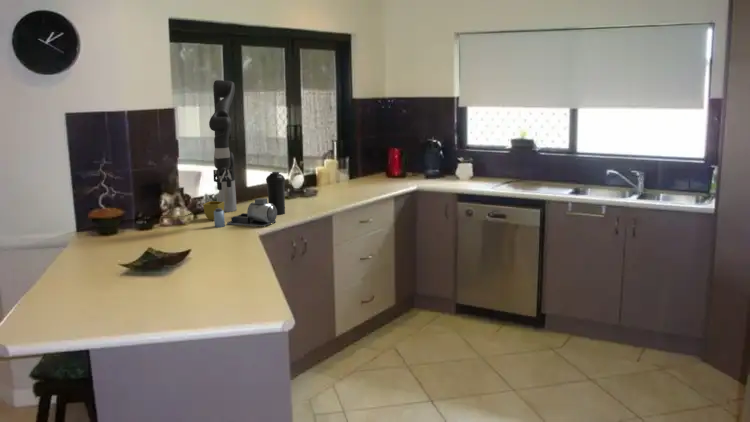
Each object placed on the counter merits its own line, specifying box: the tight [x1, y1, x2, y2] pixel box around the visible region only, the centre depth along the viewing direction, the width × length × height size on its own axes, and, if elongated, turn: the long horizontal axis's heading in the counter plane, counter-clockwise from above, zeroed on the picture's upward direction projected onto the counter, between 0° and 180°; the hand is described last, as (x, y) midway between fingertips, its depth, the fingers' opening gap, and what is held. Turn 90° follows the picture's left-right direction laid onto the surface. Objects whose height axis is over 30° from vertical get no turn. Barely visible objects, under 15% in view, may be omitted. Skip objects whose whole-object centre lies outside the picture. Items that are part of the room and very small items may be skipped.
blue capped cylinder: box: [213, 208, 226, 228], centre depth 357 cm, size 5×5×9 cm
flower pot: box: [202, 200, 224, 221], centre depth 375 cm, size 9×9×9 cm
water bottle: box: [265, 171, 286, 216], centre depth 385 cm, size 10×10×23 cm
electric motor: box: [226, 197, 278, 227], centre depth 362 cm, size 24×12×13 cm, turn 67°
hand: (224, 188), depth 356 cm, fingers open, 8 cm apart
